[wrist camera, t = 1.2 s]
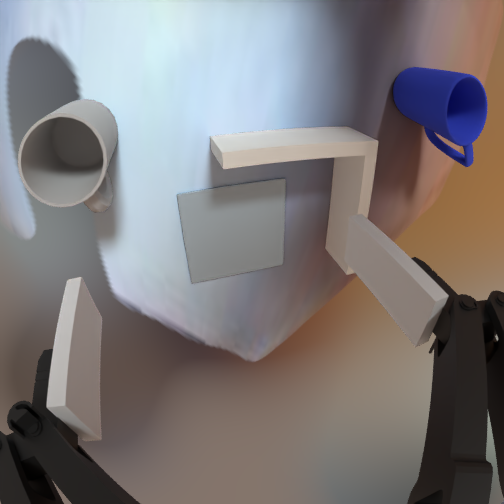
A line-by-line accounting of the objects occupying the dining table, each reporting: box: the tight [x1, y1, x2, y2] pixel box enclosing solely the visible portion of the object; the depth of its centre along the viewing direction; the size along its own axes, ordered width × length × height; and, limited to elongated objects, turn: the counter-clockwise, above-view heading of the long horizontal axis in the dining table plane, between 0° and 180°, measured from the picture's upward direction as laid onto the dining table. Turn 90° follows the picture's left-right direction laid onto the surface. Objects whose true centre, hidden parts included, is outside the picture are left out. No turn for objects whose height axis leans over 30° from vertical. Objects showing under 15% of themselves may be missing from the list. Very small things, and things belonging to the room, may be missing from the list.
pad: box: [177, 178, 286, 283], centre depth 37 cm, size 12×12×1 cm
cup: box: [18, 99, 118, 213], centre depth 23 cm, size 7×10×9 cm
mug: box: [393, 67, 487, 167], centre depth 30 cm, size 8×12×10 cm
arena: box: [210, 126, 378, 275], centre depth 35 cm, size 17×16×6 cm
